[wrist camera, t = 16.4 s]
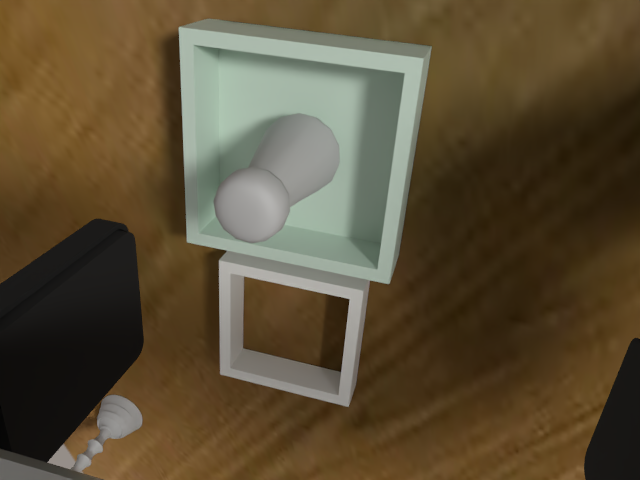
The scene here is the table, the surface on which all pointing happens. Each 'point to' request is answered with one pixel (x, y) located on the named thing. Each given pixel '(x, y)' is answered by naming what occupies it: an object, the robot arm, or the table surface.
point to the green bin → (314, 100)
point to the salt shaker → (277, 177)
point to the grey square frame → (279, 369)
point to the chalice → (110, 426)
